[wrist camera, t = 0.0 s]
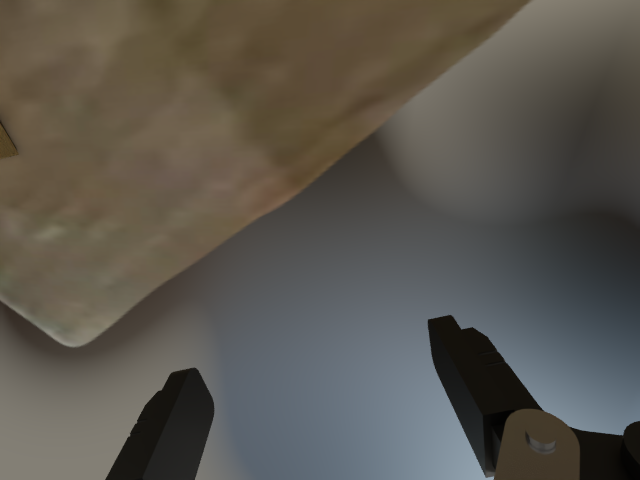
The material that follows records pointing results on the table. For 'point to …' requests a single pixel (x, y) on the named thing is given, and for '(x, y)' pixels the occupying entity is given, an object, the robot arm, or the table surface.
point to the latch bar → (6, 145)
